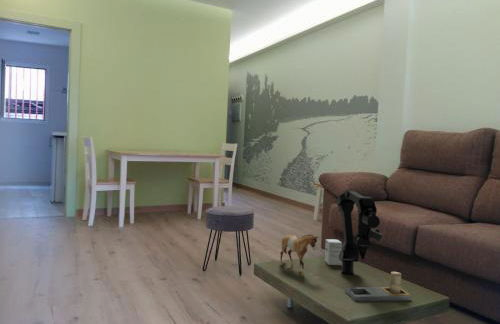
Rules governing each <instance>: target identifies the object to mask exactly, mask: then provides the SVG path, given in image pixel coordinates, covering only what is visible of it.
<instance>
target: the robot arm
mask: <svg viewBox="0 0 500 324" xmlns="http://www.w3.org/2000/svg"><path fill="white" fill-rule="evenodd" d="M336 205H337V208H338V211H339V212H340V214H341V219H342V230H343V231H342V233H343V243H342V250H341V252H340V254H339V260H340V261H341V269H340V274H343V275H351V276H353V275H355V270H354V266H355V264H354V263H355V262H357V263H358V261H359V257H360V259H361V260H365V257H366V254H367V250H368V249H369V248H371V246H372V240H371V239H374V240H376V241H377V242H381V240H382V238H383V236H384V235H383V234H382V233H381V231H380V229H379V228H378V227H379V226H380V217H378V216H377V213H378V212H377V211H378V209H377V207H376V204H375V200H374V199H373V197H371V196H363V195H362V194H360V193H359V192H357V191H356V190H351V189H350V190H349V189H348V190H345V192H344V193H342V194H340V195H339V196H338V198H337V200H336ZM355 207H356V208H357V213H358V215H357V225H356V226H357V230H356V232H355V239H354V230H353V221H352V219H353V217H352V213H353V211H354V208H355ZM374 228H375V229H374ZM354 240H356V242H355V241H354Z"/></svg>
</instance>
